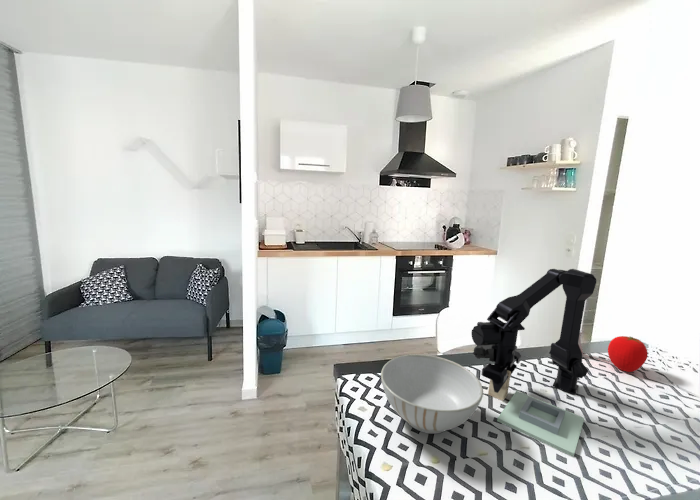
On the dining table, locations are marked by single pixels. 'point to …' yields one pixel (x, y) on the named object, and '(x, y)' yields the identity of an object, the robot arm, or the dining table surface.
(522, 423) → the socket board
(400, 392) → the decorative bowl
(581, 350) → the flask
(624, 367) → the tomato
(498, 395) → the birch peg
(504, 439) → the dining table surface
